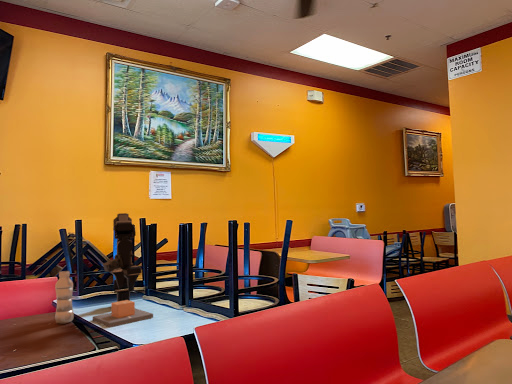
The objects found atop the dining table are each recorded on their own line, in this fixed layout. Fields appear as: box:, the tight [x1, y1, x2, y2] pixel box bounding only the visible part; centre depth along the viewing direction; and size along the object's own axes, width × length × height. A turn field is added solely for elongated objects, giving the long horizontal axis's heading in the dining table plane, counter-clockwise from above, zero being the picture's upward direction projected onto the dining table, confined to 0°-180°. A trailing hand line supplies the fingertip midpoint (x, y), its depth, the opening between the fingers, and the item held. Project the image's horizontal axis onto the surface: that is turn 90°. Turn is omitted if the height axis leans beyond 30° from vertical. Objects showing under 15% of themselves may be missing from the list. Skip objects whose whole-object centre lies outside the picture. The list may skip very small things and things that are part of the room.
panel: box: [92, 308, 154, 328], centre depth 156 cm, size 16×18×5 cm
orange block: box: [110, 300, 136, 318], centre depth 156 cm, size 6×7×5 cm
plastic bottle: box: [54, 270, 75, 324], centre depth 153 cm, size 6×7×20 cm
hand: (124, 289), depth 160 cm, fingers open, 9 cm apart
